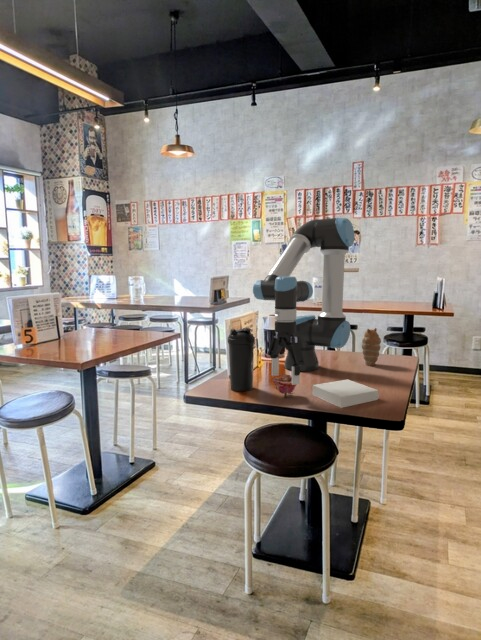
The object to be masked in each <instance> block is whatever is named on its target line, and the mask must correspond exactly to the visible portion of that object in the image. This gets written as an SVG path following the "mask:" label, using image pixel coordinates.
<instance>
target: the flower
mask: <svg viewBox="0 0 481 640" xmlns="http://www.w3.org/2000/svg"><path fill="white" fill-rule="evenodd" d="M272 382H273V384H274V387H275V389H276V390H277V391H278V392H279V393H281V394H284V398H287V397H288V396H287V395H293V394H294V390H296V389H297V388H296V386H297V385H298V384H296V385H292V374H286V373H285V374H282V375H280V377H277V376H276V377H275V376H273V377H272Z"/></svg>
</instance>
